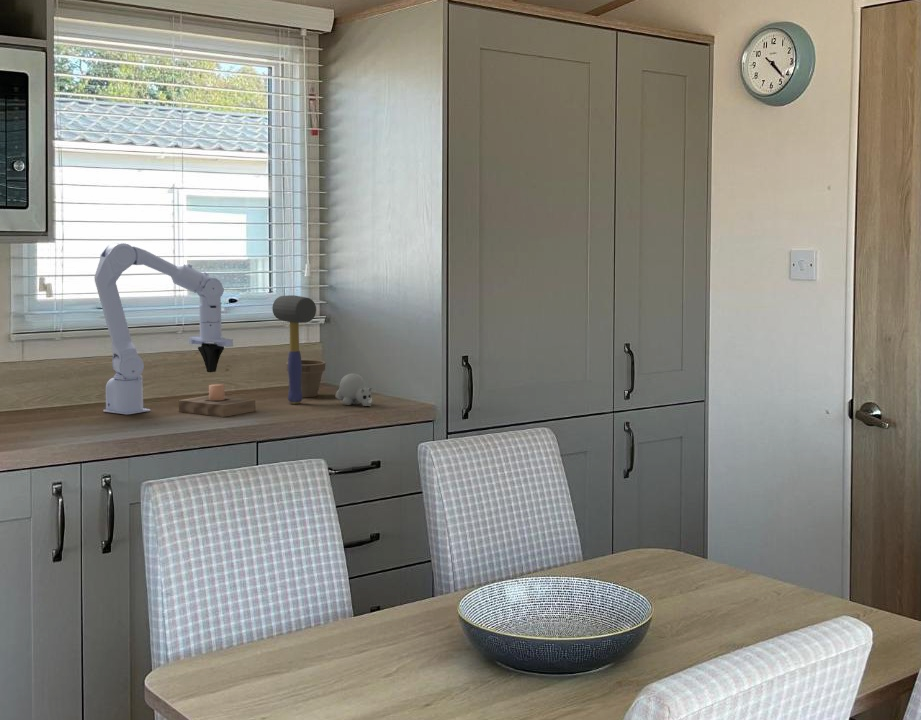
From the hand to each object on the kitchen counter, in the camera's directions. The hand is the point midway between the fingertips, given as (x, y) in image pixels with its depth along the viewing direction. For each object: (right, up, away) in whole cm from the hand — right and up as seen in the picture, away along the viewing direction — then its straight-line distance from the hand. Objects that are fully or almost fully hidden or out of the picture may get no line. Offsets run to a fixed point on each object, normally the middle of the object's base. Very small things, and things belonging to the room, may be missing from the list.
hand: (211, 371), depth 306 cm
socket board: (+3, -10, -8) cm, 13 cm away
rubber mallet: (+22, -9, +7) cm, 24 cm away
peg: (+3, -10, -8) cm, 13 cm away
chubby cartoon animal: (+39, -10, +4) cm, 40 cm away
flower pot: (+23, -8, +22) cm, 32 cm away
